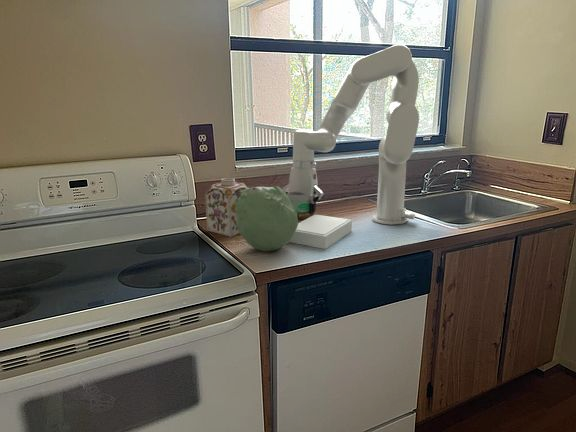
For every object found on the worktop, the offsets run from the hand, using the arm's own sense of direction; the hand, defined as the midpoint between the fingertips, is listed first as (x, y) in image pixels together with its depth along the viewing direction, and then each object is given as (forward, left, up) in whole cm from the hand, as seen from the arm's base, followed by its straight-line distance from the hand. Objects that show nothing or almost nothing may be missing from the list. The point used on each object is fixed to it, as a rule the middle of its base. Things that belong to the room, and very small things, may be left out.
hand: (302, 211), depth 168 cm
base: (-15, +15, -3) cm, 21 cm away
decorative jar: (+15, +24, -3) cm, 28 cm away
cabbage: (-7, +34, -3) cm, 35 cm away
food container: (-1, 0, -3) cm, 3 cm away
